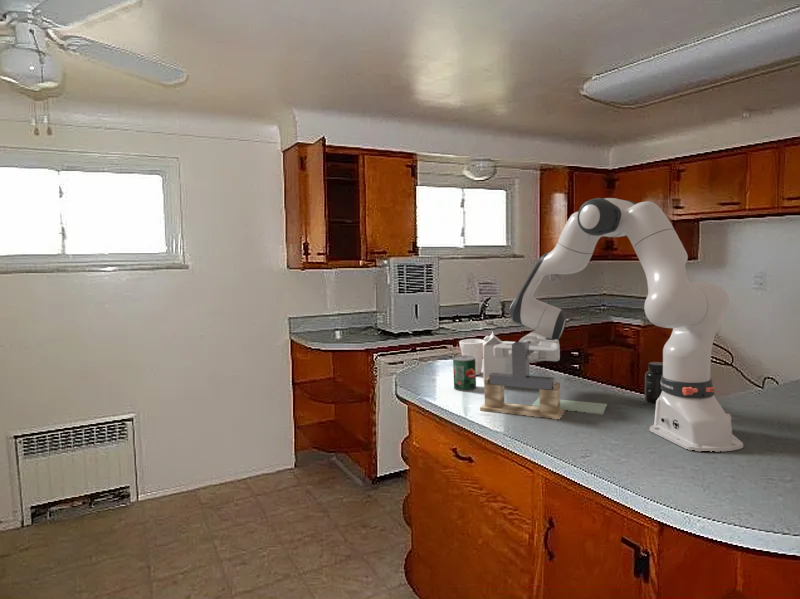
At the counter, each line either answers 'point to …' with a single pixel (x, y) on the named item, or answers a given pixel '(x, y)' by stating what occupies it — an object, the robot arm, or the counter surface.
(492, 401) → the stand
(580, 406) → the mat
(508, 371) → the small box
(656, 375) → the supplement bottle
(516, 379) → the grey inverted t block
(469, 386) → the canned tomato
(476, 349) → the cup
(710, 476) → the counter surface
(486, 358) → the milk carton
